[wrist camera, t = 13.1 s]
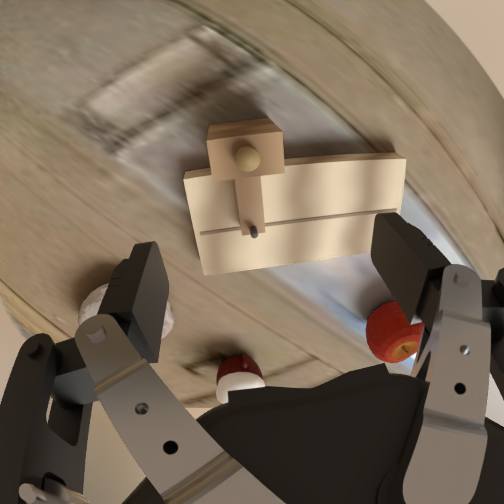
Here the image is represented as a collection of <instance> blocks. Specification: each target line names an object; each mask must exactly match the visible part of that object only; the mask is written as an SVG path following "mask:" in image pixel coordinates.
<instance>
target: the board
mask: <svg viewBox="0 0 504 504" xmlns="http://www.w3.org/2000/svg"><path fill="white" fill-rule="evenodd" d="M284 165H285V173H282V174H273V175H264V176H260V177H261V187H262V198H263V209H264V221H265V232H266V233H259V234H258V237H257V238H252V237H251V235H244V236H242V232H241V225H240V217H239V210H238V202H237V195H236V187H235V179H233V180H225V181H218V182H213V180H212V173H211V168H205V169H199V170H192V171H186V172H185V176H184V179H183V180H184V185H185V190H186V195H187V200H188V205H189V210H190V214H191V219H192V224H193V228H194V233H195V238H196V242H197V247H198V251H199V255H200V260H201V264H202V268H203V273H204V276H206V275H214V274H221V273H229V272H236V271H244V270H251V269H259V268H266V267H273V266H280V265H287V264H295V263H302V262H309V261H316V260H322V259H329V258H336V257H343V256H350V255H356V254H363V253H370V252H371V243H372V235H373V227H374V219H375V216H376V214H378V213H388V212H397V213H398V214H399V215H400V210H401V203H402V196H403V187H404V179H405V169H406V158H404V157H403V156H401V155H399V154H398V153H361V154H341V155H324V156H311V157H298V158H287V159H284Z"/></svg>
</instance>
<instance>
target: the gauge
mask: <svg viewBox="0 0 504 504" xmlns="http://www.w3.org/2000/svg"><path fill="white" fill-rule="evenodd" d="M206 142H207V148H208V154H209V161H210V167H211V173H212V180H213V182H218V181H225V180H233V179H235V187H236V195H237V202H238V210H239V217H240V225H241V232H242V236H244V235H251V237H252V238H257V237H258V234H259V233H266V232H265V221H264V209H263V198H262V187H261V177H260V176H264V175H273V174H282V173H285V165H284V149H283V135H282V131H281V130H280V129H279V128H278V127H277V126H276V125H275V124H274V123H273V122H272V121H271V120H270V119H269V118H261V119H251V120H242V121H234V122H226V123H219V124H212V125H209V129H208V134H207V140H206Z"/></svg>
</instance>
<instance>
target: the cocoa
mask: <svg viewBox="0 0 504 504" xmlns="http://www.w3.org/2000/svg"><path fill="white" fill-rule="evenodd" d="M258 387H265V384H264V382H263V378H262V373H261V371H260V368H259V366H258V365H257V363H256V362H255V361H254V360H252V359H251V358H249V357H247V356H246V354H240V355H239V356H234V357H230V358H228V359H226V360H224V361H223V362H222V364H221V365H220V367H219V369H218V373H217V390H216V396H217V400H219V401H220V402H221V403H222V404H224V403H227V402H228V391H232V390H241V389H250V388H258Z"/></svg>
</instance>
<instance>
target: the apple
mask: <svg viewBox="0 0 504 504" xmlns="http://www.w3.org/2000/svg"><path fill="white" fill-rule="evenodd" d="M423 327H424V324H423V322H419V323H416V324H412V325H410V323H409V322H408V320H407V318H406V316H405V315H404V313H403V311H402V310H401V308H400V306H399V305H398V303H397V301H392V302H388V303H385V304H383V305H382V306H380V307H378V308H377V309H376V310H375V311H374V312H372V314H371V315H370V316H369V318H368V321H367V325H366V338H367V343H368V345H369V348H370V349H371V351H372V353H373V354H374V355H375V357H377V358H378V359H380V360H382V361H385V362H389V363H398V362H400V361H403V360H405V359H407V358H408V357H410V356H412V355H413V354H414V353H416V352H417V350H418V346H419V341H420V337H421V333H422V330H423Z"/></svg>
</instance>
